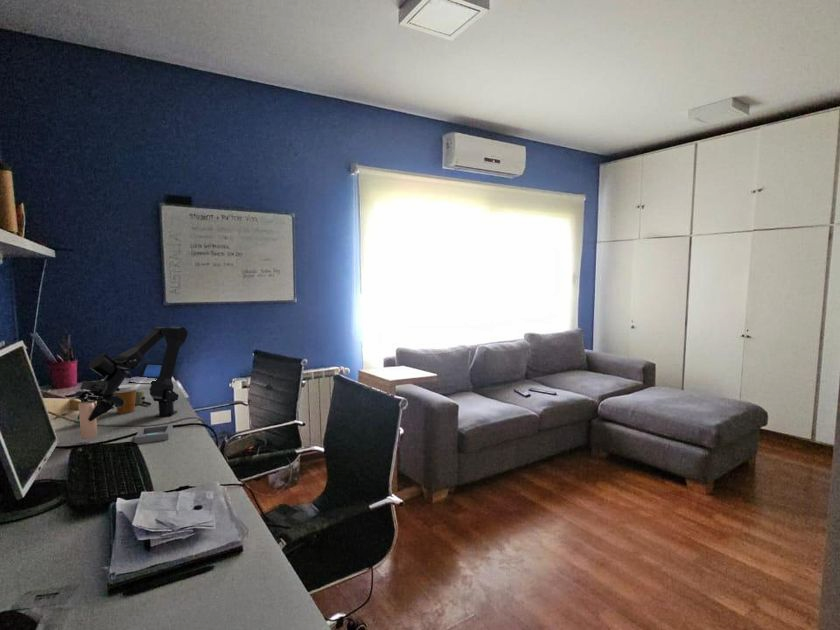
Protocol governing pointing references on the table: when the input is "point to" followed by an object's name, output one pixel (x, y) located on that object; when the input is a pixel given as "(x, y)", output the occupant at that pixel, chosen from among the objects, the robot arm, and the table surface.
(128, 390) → the disposable coffee cup
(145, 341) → the robot arm
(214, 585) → the table surface
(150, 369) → the handheld game console
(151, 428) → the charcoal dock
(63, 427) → the table surface
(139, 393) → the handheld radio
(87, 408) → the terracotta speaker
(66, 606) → the table surface
